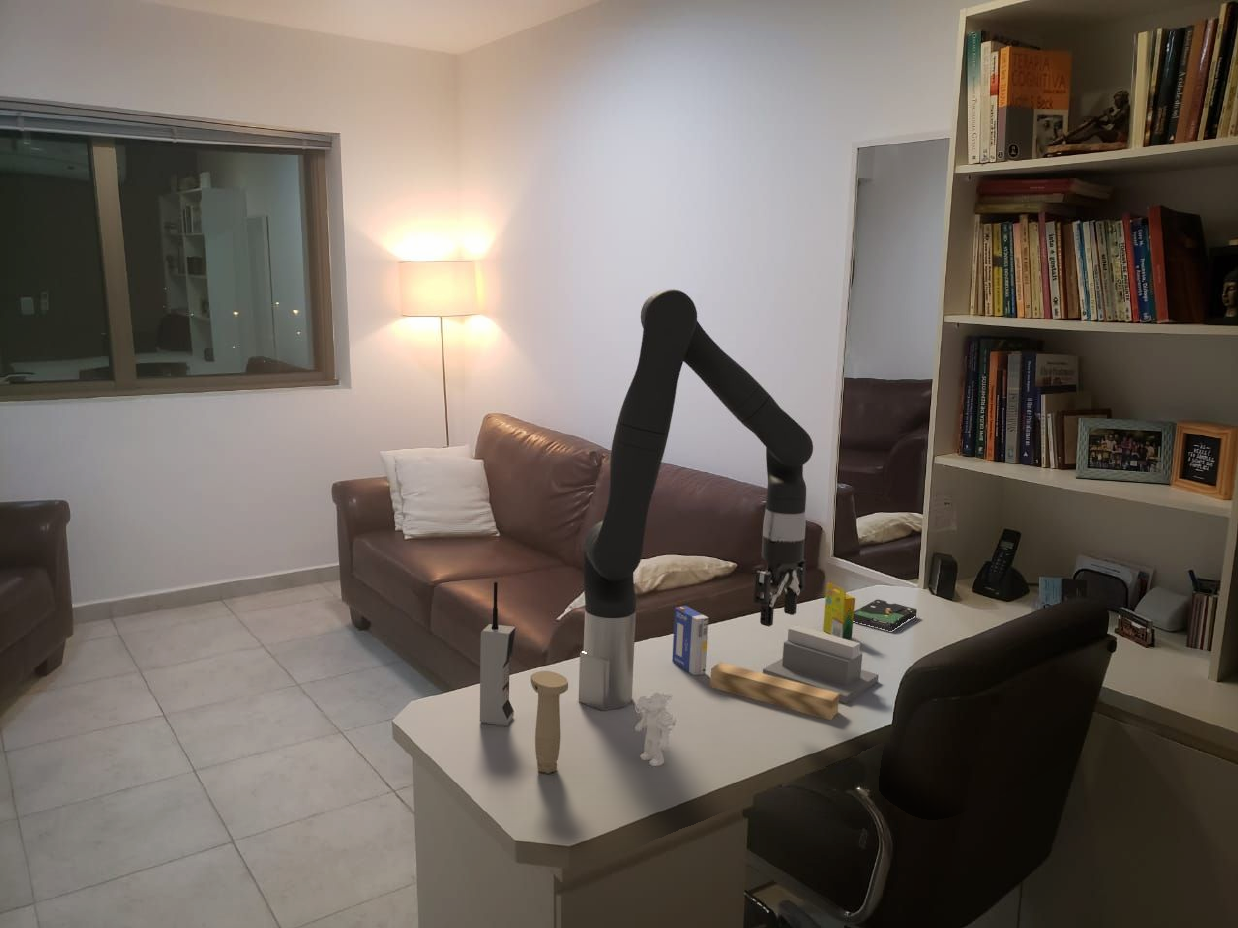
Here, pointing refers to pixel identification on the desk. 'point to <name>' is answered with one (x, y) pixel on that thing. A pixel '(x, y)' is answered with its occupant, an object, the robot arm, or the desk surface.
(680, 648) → the walkman
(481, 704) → the vintage mobile phone
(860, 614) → the disk drive
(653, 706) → the white figurine
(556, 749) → the handle
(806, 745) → the desk surface
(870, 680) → the balance stand
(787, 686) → the oak bar
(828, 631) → the crayon box
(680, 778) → the desk surface
